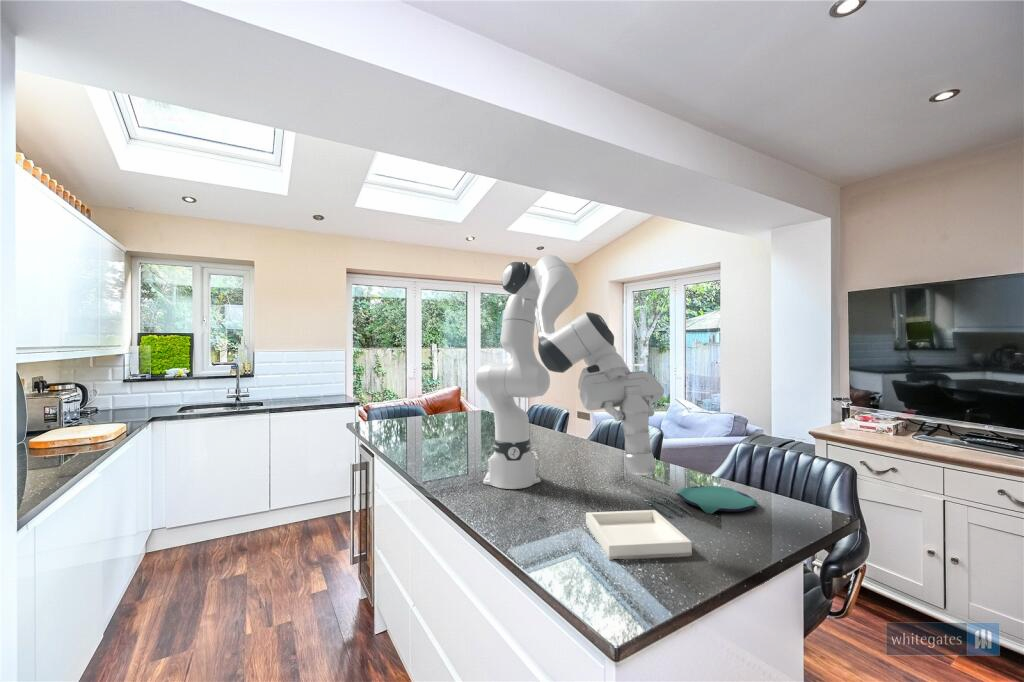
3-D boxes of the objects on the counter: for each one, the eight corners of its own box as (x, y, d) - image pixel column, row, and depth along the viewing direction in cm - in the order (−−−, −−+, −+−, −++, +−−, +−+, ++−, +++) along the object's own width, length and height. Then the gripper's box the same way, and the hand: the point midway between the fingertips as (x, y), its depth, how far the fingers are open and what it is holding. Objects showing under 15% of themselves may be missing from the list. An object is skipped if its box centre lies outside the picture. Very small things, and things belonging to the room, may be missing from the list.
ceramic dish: (585, 524, 107) (585, 512, 107) (655, 521, 109) (654, 509, 109) (609, 560, 89) (609, 545, 89) (691, 556, 91) (691, 541, 91)
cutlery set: (773, 513, 115) (773, 505, 115) (670, 523, 109) (670, 514, 109) (724, 490, 134) (723, 482, 134) (634, 497, 129) (634, 489, 129)
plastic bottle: (654, 478, 92) (645, 384, 95) (622, 477, 95) (614, 386, 98) (657, 472, 98) (649, 385, 101) (627, 472, 101) (619, 386, 103)
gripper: (645, 379, 112) (671, 420, 102) (571, 387, 108) (592, 431, 97) (652, 361, 108) (680, 402, 98) (576, 369, 103) (598, 413, 93)
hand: (635, 417), depth 98 cm, fingers closed on plastic bottle, 6 cm apart
